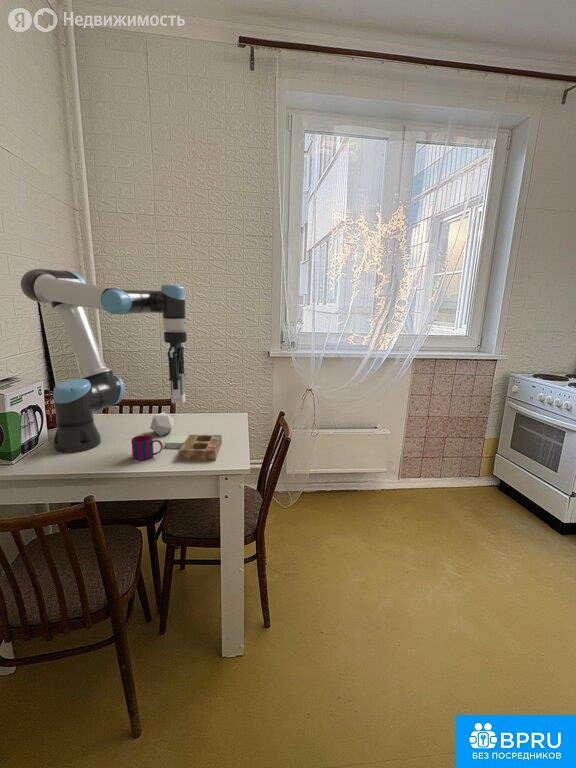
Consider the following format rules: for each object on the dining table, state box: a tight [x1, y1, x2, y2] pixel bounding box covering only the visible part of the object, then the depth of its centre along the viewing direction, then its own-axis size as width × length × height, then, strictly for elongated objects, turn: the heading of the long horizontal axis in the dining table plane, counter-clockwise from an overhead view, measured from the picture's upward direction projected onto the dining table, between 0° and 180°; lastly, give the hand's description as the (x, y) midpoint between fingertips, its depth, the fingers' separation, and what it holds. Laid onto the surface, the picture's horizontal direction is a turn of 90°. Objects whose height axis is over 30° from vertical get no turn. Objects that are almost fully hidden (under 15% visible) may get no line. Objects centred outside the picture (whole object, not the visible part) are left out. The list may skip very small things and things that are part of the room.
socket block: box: [179, 434, 223, 461], centre depth 136 cm, size 12×15×4 cm
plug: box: [169, 373, 186, 404], centre depth 137 cm, size 4×4×10 cm
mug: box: [131, 434, 164, 462], centre depth 129 cm, size 7×10×7 cm
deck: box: [165, 435, 189, 449], centre depth 142 cm, size 7×7×2 cm
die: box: [149, 411, 175, 437], centre depth 152 cm, size 8×9×10 cm
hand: (178, 396), depth 137 cm, fingers closed on plug, 4 cm apart
